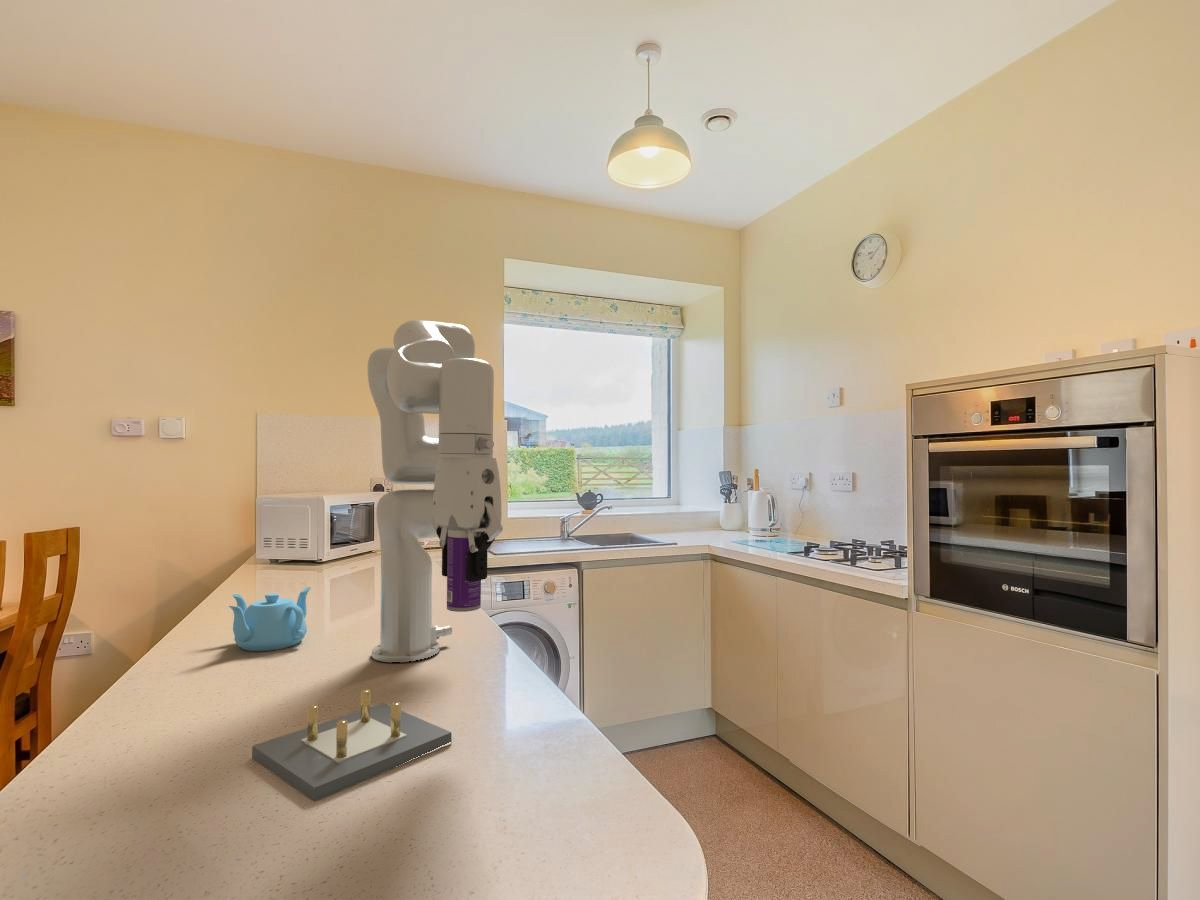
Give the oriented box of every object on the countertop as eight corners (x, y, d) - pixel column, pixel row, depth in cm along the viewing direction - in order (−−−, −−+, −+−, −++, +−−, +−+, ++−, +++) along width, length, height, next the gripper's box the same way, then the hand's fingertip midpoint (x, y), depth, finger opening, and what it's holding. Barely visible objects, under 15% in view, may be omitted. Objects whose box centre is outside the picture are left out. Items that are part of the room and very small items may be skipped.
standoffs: (367, 718, 84) (367, 688, 85) (402, 735, 79) (402, 703, 79) (305, 739, 78) (305, 707, 78) (339, 759, 73) (339, 724, 73)
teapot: (309, 650, 122) (310, 598, 123) (221, 659, 116) (222, 604, 116) (310, 632, 136) (311, 585, 136) (230, 640, 129) (232, 590, 130)
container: (472, 612, 84) (474, 502, 84) (440, 610, 85) (442, 501, 85) (485, 604, 89) (487, 500, 89) (455, 602, 90) (456, 499, 90)
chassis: (383, 713, 90) (383, 701, 91) (451, 744, 80) (451, 730, 80) (251, 757, 77) (252, 744, 77) (314, 801, 66) (314, 785, 66)
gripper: (527, 448, 85) (525, 581, 84) (450, 448, 95) (448, 566, 95) (484, 447, 79) (483, 590, 79) (407, 447, 89) (406, 573, 89)
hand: (464, 576), depth 87 cm, fingers closed on container, 4 cm apart
